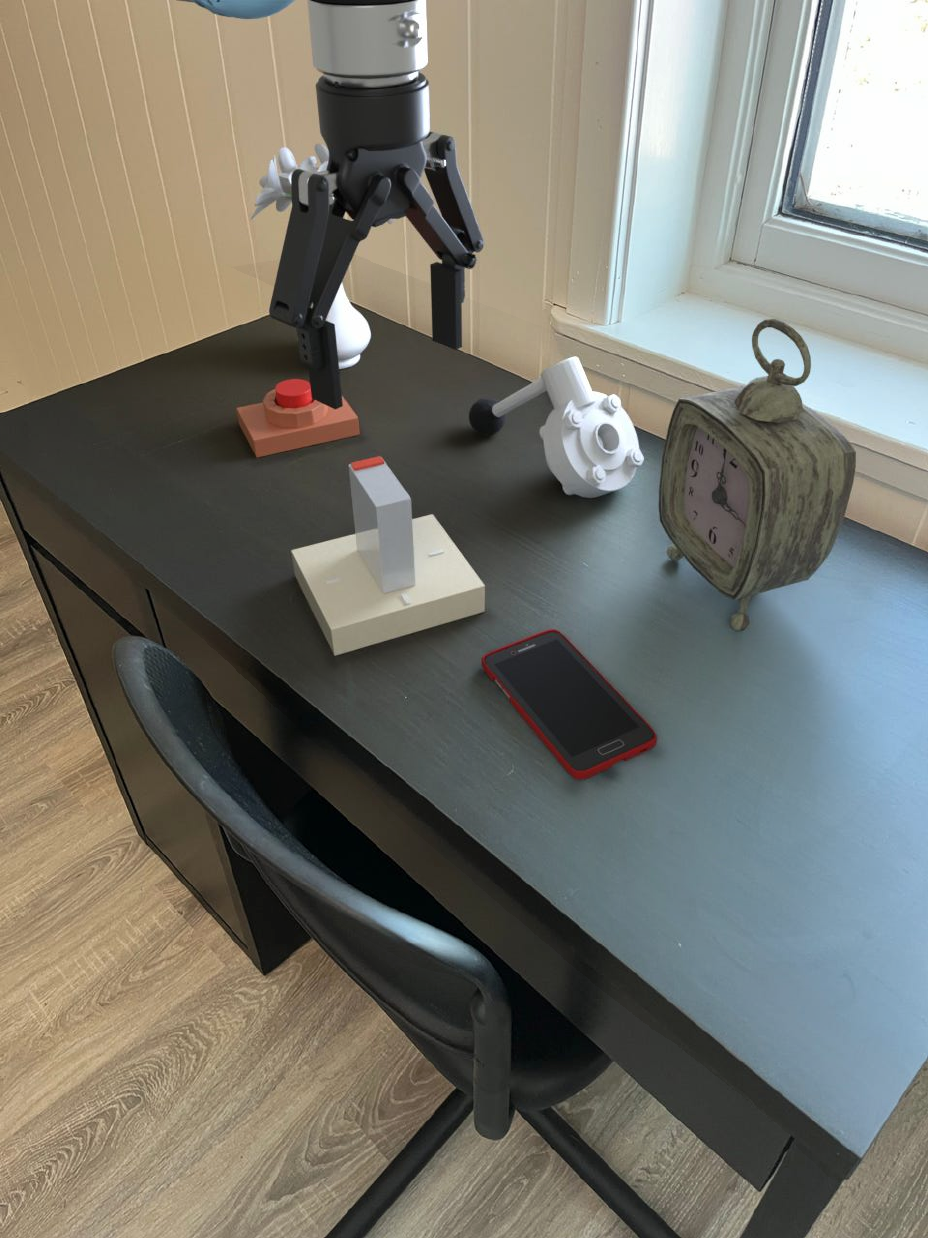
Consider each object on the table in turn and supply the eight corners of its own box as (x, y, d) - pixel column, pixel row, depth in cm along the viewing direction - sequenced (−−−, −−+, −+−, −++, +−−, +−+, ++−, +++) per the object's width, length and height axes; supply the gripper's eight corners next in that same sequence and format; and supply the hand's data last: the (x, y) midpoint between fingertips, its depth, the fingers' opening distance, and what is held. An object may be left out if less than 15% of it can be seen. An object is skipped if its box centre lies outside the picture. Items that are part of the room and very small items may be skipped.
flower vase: (424, 349, 124) (417, 143, 108) (313, 397, 114) (286, 178, 98) (360, 320, 131) (344, 122, 115) (250, 363, 121) (215, 153, 105)
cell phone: (576, 786, 69) (577, 777, 68) (477, 664, 79) (477, 656, 78) (661, 746, 72) (662, 738, 71) (555, 634, 81) (555, 625, 81)
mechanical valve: (594, 501, 92) (533, 356, 90) (489, 541, 106) (435, 417, 105) (660, 469, 97) (603, 333, 96) (551, 511, 112) (501, 393, 111)
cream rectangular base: (334, 656, 80) (330, 628, 78) (294, 575, 88) (290, 548, 86) (485, 611, 84) (485, 584, 82) (433, 539, 92) (432, 512, 90)
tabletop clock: (647, 553, 90) (686, 297, 74) (729, 532, 93) (783, 280, 76) (732, 648, 80) (799, 376, 64) (821, 623, 83) (907, 354, 66)
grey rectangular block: (415, 585, 82) (411, 495, 76) (383, 594, 81) (375, 504, 75) (387, 541, 87) (381, 454, 81) (356, 549, 86) (347, 462, 80)
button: (282, 412, 104) (280, 398, 103) (273, 397, 107) (270, 382, 106) (317, 405, 105) (315, 391, 104) (307, 390, 108) (305, 376, 107)
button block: (256, 457, 104) (251, 425, 101) (239, 424, 109) (233, 393, 107) (359, 434, 108) (357, 403, 105) (338, 403, 113) (334, 372, 110)
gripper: (259, 119, 53) (303, 447, 67) (534, 51, 67) (523, 334, 81) (180, 99, 57) (237, 413, 71) (456, 38, 71) (459, 311, 85)
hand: (390, 372), depth 76 cm, fingers open, 13 cm apart
